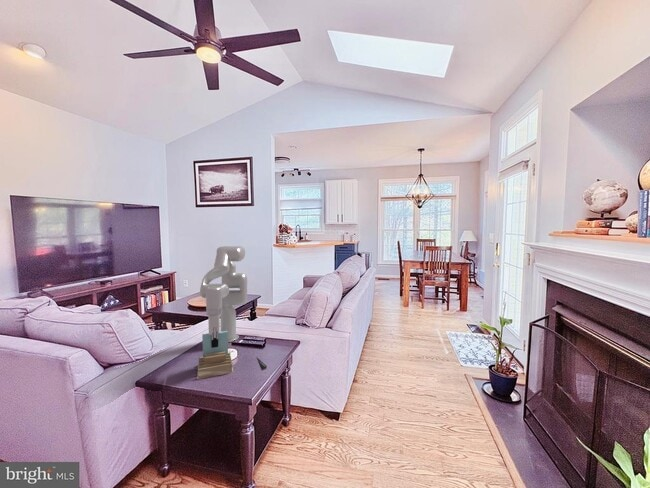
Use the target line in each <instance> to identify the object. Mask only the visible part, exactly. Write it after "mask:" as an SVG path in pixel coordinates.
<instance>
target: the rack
mask: <svg viewBox="0 0 650 488" xmlns="http://www.w3.org/2000/svg"><path fill="white" fill-rule="evenodd" d="M232 373H234V369H233V362H232V357H231V352H228V356H226V361H225V362H219V363H213V364H207V365H204V360H203V356H201V357H200V356H199V358H198V364H197V373H196V374H197V377H196V379H197V380H201V379H206V378H211V377H216V376H221V375H227V374H232Z"/></svg>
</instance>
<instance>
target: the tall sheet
mask: <svg viewBox="0 0 650 488" xmlns="http://www.w3.org/2000/svg"><path fill="white" fill-rule="evenodd" d="M213 334H214V333H213ZM201 336H202V357H203V360H204V354H211V353H217V352H224V351H225V352H226V356H228V353H229V342H228V331H223V332H221V331H219V334H218V347H214V348H212V346H211V340H212V335H210V336H209V333H203V334H202V335H201Z"/></svg>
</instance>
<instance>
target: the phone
mask: <svg viewBox="0 0 650 488" xmlns="http://www.w3.org/2000/svg"><path fill="white" fill-rule="evenodd" d="M256 360H257V363H258V365H259V367H260V370H261V371H264V370H267V368H268V367H267V365H266V364H265V363H264V362H263V361H262V360H261V359H259V358H258V356H256Z"/></svg>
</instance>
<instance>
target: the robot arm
mask: <svg viewBox="0 0 650 488" xmlns="http://www.w3.org/2000/svg"><path fill="white" fill-rule="evenodd" d="M245 255H246V250H245V248H244V247H243V246H238V245H237V246H234V245H233V246H228V245H227V246H219V247H218V248H216V256H215V259H214V265H213V268H212V269H210V270H209V271H207V272H206V274H205V275H204V276H203V278H202V279H201V280H202V281H201V283H200V284H201V285H200V288H199V295H200V297H201V298H203V299H205V304H206V306H205V309H206V313H205V314H206V316H208V324H207V325H208V334H209V336H210V335H212V340H211V346H212V348H214V347H218V334H219V332H223V331H228V343H231V342H232V343H233V342H235V341H237V340H238V339H239V337H240V336H239V335H238V334H237V311H236V309H235V308H234V306H243V305H246V304H247V302H248V277H247V274H246V273H242V272H241V273H237V272H236V264H235V263H234V262H241V261H243V260H244V259H245ZM219 278H221V283H211V282H212V281H214V280H216V279H219ZM231 289H232V290H231ZM235 289H237V290H235ZM213 333H214V334H213ZM234 340H235V341H234Z"/></svg>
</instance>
